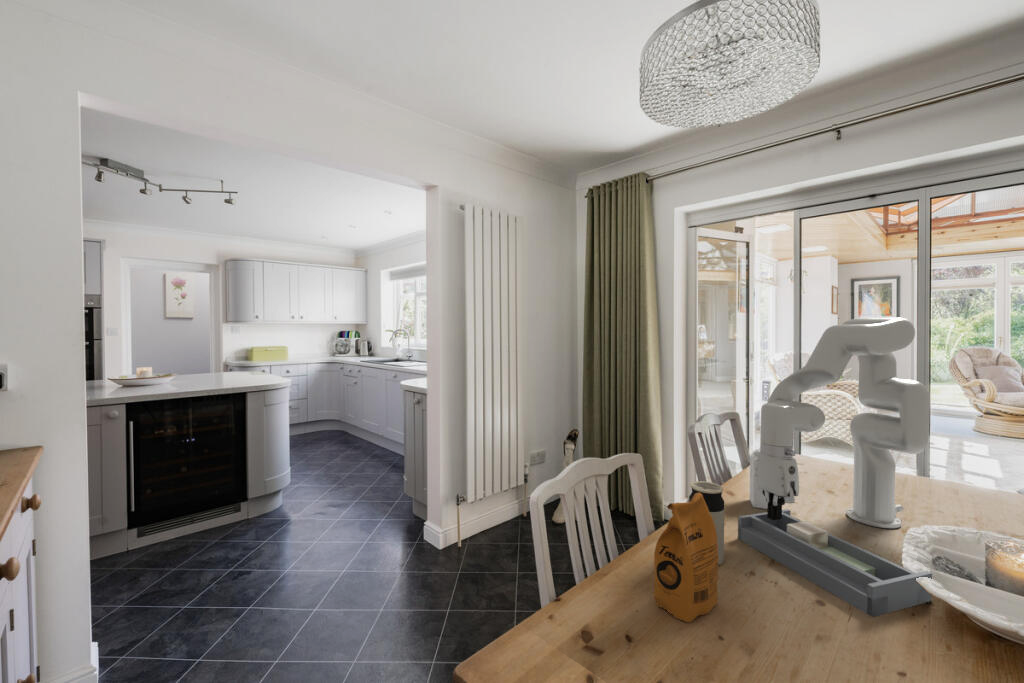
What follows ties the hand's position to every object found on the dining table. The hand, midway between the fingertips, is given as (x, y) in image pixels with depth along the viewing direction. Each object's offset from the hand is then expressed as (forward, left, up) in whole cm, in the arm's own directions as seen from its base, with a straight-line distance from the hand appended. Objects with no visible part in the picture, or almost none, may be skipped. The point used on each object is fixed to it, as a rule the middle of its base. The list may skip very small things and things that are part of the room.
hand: (774, 518), depth 117 cm
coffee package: (+41, +16, -6) cm, 44 cm away
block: (0, +9, -3) cm, 9 cm away
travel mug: (+24, +2, -6) cm, 24 cm away
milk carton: (-17, -20, -6) cm, 27 cm away
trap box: (0, +13, -6) cm, 14 cm away
